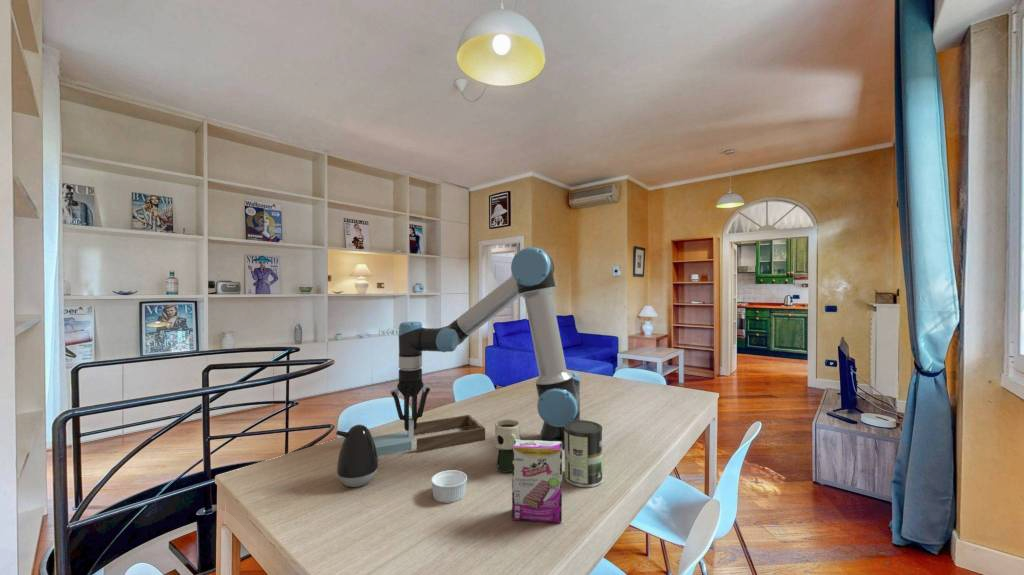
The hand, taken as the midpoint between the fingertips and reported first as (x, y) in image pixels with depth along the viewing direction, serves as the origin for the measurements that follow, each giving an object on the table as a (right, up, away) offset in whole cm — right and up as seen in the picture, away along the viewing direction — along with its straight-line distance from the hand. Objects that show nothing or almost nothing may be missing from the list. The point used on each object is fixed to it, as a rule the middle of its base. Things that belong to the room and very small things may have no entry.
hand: (410, 439), depth 130 cm
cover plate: (-6, -2, -3) cm, 7 cm away
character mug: (+33, -2, -19) cm, 38 cm away
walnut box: (+11, -2, +5) cm, 12 cm away
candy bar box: (+40, -1, -42) cm, 58 cm away
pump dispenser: (-7, -2, -26) cm, 27 cm away
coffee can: (+53, -1, -24) cm, 58 cm away
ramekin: (+18, -2, -32) cm, 37 cm away
